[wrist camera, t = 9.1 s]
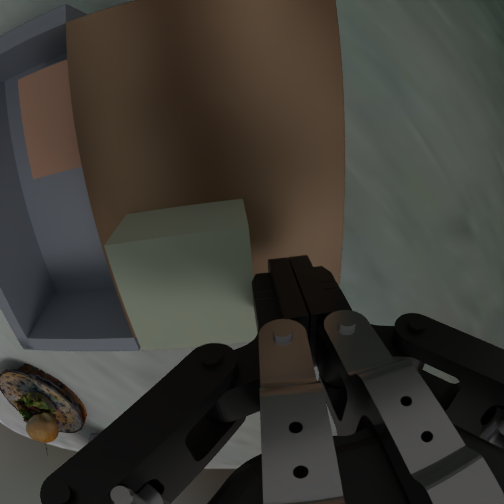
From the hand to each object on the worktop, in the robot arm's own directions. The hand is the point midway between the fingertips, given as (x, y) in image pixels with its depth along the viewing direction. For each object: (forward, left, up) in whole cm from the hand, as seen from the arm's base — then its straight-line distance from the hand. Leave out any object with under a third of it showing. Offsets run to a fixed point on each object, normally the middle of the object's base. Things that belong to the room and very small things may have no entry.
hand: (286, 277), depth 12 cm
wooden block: (+2, -4, -8) cm, 9 cm away
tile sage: (+4, 0, -2) cm, 4 cm away
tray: (+12, -4, -8) cm, 15 cm away
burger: (+27, +19, -9) cm, 34 cm away
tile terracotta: (+8, -7, -5) cm, 12 cm away
